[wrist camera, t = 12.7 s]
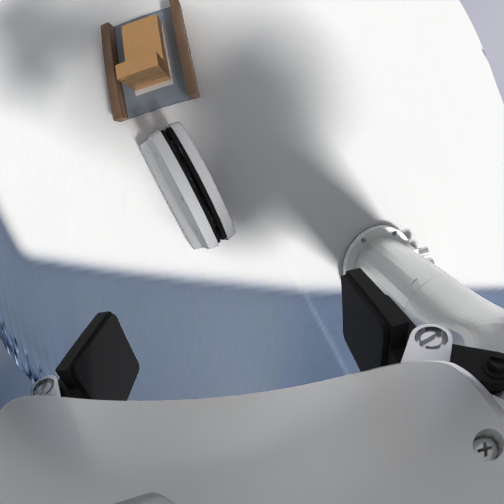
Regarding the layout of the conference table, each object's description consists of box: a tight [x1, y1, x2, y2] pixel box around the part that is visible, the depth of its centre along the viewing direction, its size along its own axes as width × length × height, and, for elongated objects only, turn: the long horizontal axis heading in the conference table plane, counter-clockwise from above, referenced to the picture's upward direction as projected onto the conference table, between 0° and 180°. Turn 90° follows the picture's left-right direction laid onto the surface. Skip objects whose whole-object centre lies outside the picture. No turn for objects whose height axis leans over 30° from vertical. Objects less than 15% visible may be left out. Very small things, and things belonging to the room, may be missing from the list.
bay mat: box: [114, 7, 190, 119], centre depth 30 cm, size 9×16×1 cm, turn 12°
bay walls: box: [101, 0, 200, 122], centre depth 29 cm, size 11×16×2 cm
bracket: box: [115, 14, 171, 91], centre depth 26 cm, size 10×5×7 cm, turn 11°
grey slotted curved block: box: [140, 122, 236, 249], centre depth 33 cm, size 17×5×10 cm, turn 25°
